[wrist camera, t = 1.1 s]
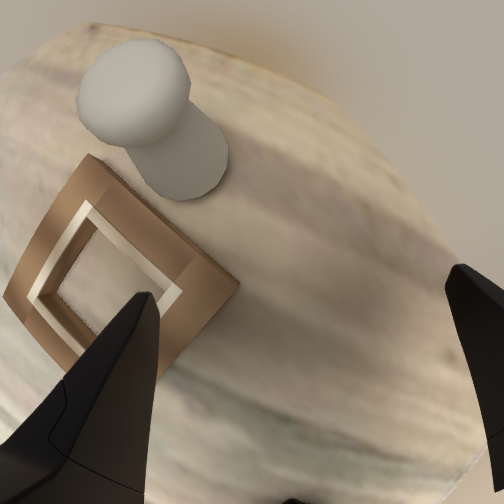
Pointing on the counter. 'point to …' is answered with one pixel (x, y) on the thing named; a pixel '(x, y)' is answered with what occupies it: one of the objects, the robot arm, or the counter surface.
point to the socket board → (133, 246)
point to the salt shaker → (153, 118)
